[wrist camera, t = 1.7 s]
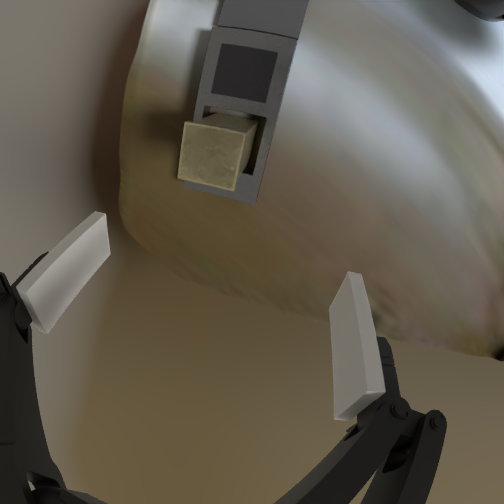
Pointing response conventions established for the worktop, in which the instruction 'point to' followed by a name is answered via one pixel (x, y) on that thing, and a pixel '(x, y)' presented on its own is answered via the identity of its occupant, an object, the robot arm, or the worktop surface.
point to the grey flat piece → (244, 91)
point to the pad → (264, 16)
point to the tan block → (216, 150)
